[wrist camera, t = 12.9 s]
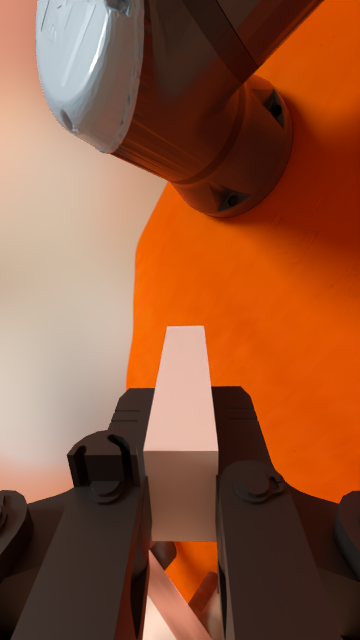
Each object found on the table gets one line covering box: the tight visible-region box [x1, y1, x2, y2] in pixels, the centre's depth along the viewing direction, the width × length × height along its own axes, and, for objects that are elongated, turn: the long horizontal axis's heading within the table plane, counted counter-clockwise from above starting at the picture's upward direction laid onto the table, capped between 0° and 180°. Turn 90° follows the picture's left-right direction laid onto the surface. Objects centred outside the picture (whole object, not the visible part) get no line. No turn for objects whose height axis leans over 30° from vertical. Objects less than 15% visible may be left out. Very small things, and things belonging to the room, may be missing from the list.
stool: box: [143, 550, 223, 640], centre depth 37 cm, size 18×18×18 cm
